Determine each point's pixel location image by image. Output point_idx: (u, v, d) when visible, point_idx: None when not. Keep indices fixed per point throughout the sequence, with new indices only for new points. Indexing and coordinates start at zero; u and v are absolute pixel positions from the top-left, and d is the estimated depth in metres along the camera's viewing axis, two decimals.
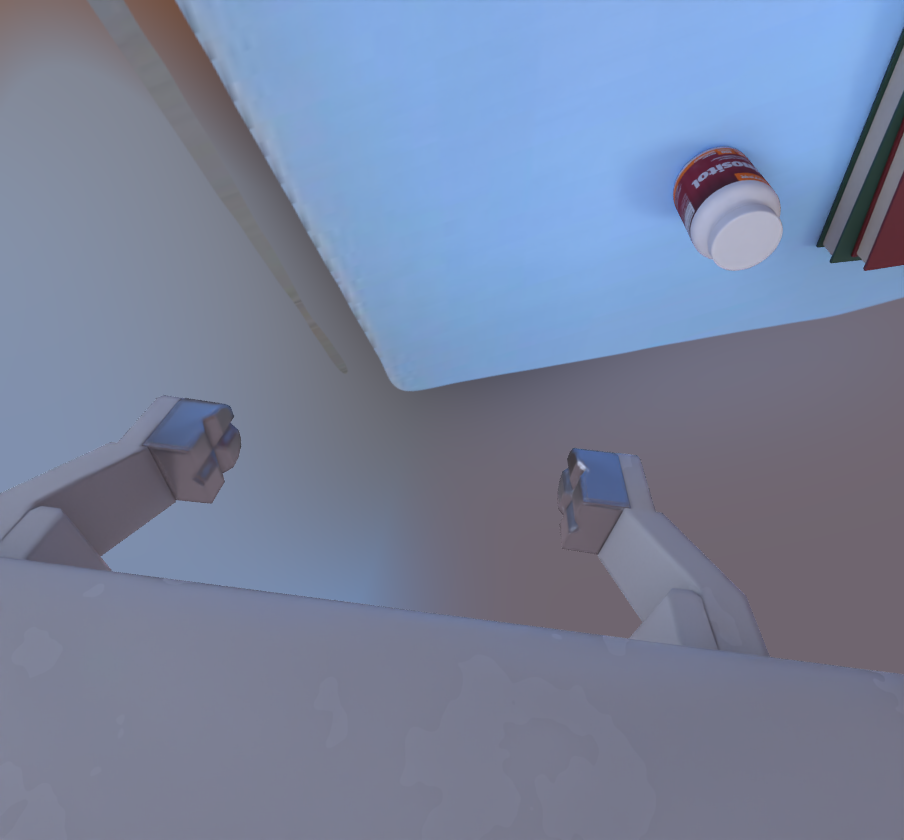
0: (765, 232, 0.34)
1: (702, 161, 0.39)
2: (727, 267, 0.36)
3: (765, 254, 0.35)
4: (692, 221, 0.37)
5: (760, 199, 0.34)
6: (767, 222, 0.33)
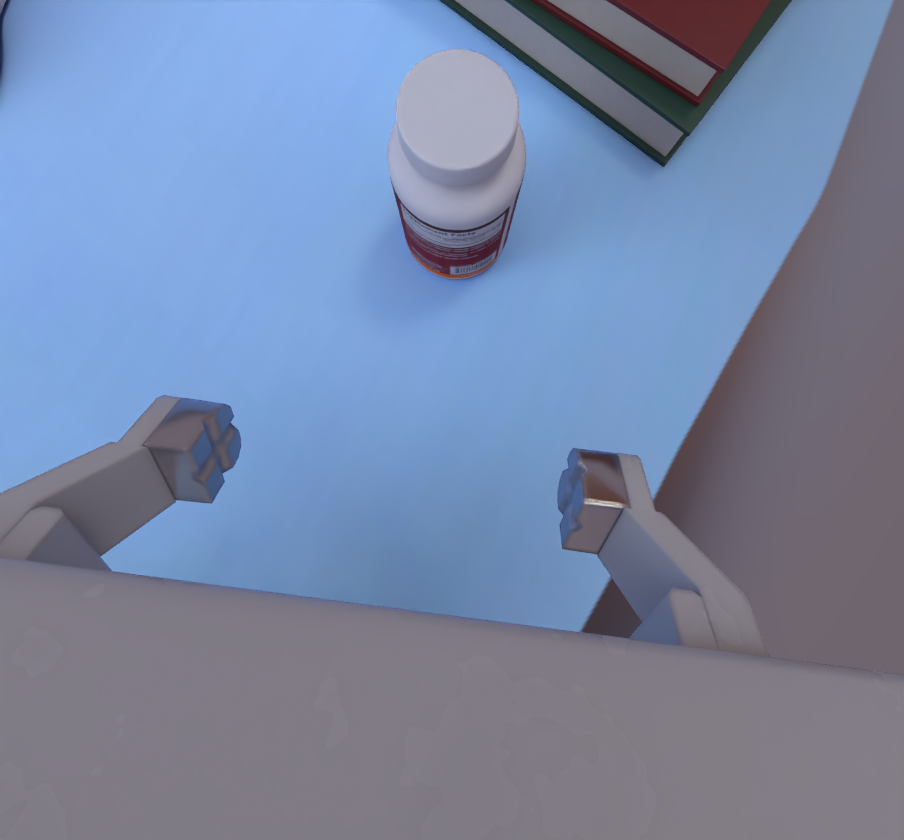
0: (461, 75, 0.17)
1: None
2: (484, 156, 0.17)
3: (507, 94, 0.17)
4: (408, 208, 0.21)
5: None
6: (444, 65, 0.17)
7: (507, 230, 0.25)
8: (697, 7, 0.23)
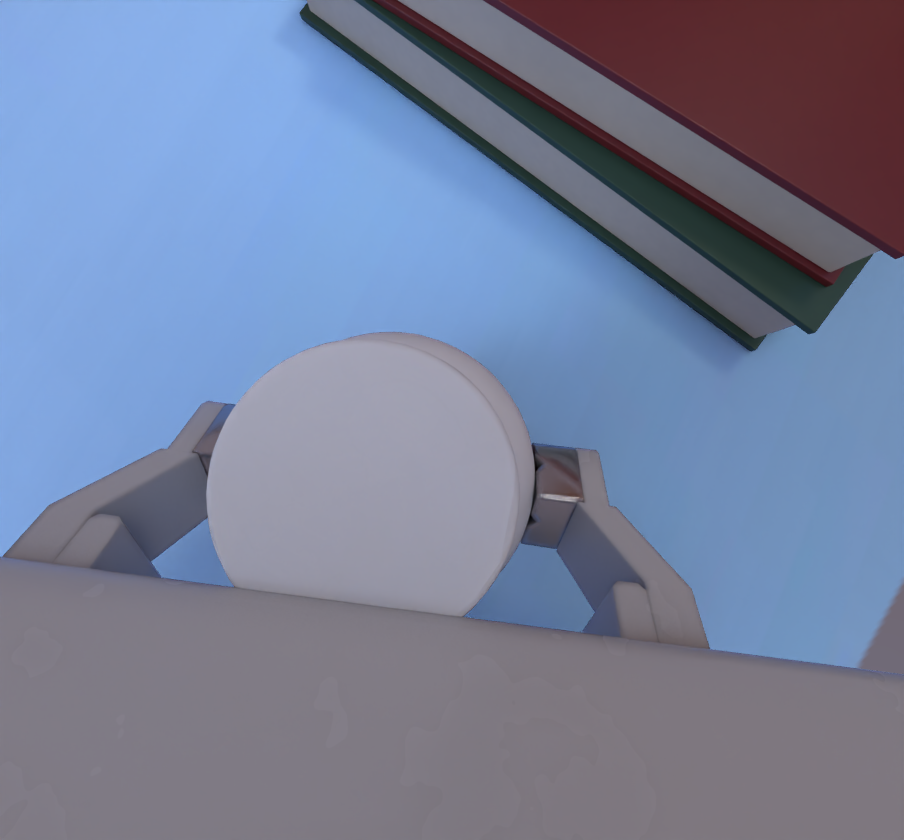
0: (371, 407, 0.07)
1: None
2: None
3: (488, 457, 0.07)
4: None
5: None
6: (330, 382, 0.07)
7: None
8: (850, 138, 0.12)
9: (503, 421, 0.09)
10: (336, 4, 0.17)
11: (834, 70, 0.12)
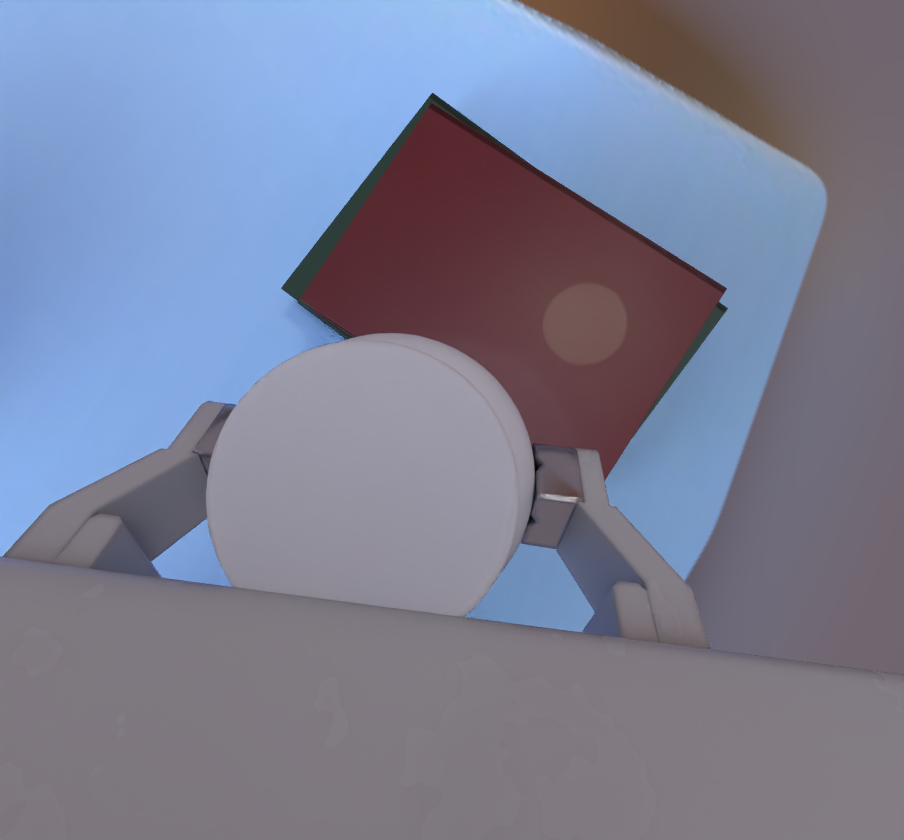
0: (371, 409, 0.07)
1: None
2: None
3: (488, 458, 0.07)
4: None
5: None
6: (330, 383, 0.07)
7: None
8: (571, 432, 0.25)
9: (503, 422, 0.09)
10: None
11: (563, 398, 0.25)
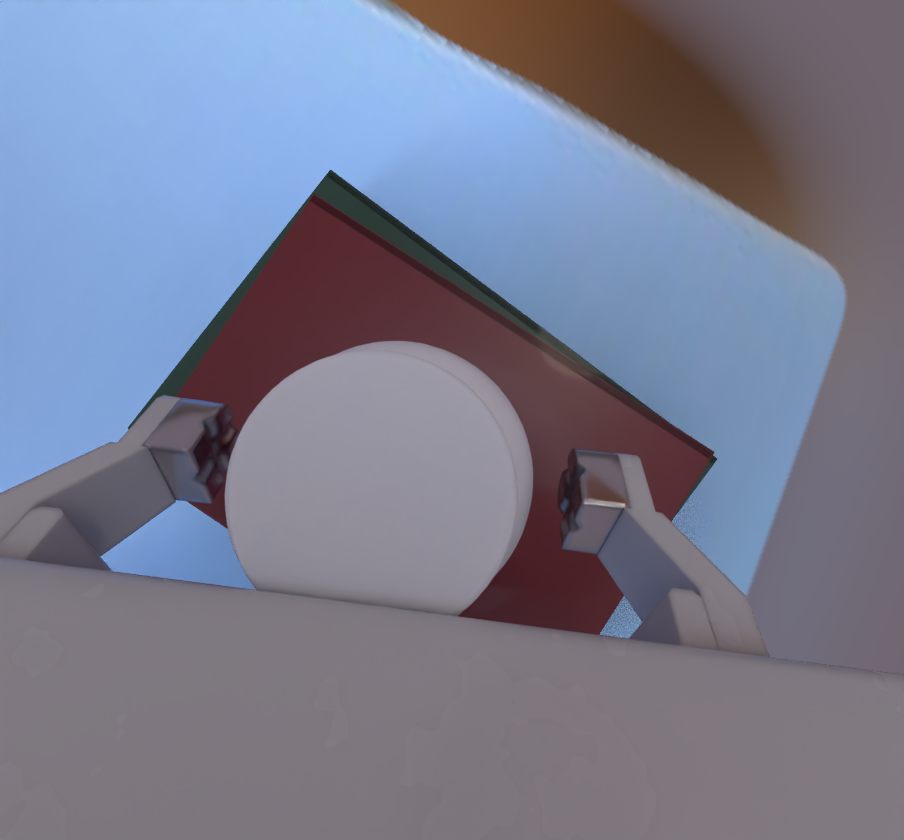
0: (379, 414, 0.07)
1: None
2: None
3: (488, 460, 0.07)
4: None
5: None
6: (340, 390, 0.07)
7: None
8: None
9: (502, 426, 0.09)
10: None
11: (489, 604, 0.18)
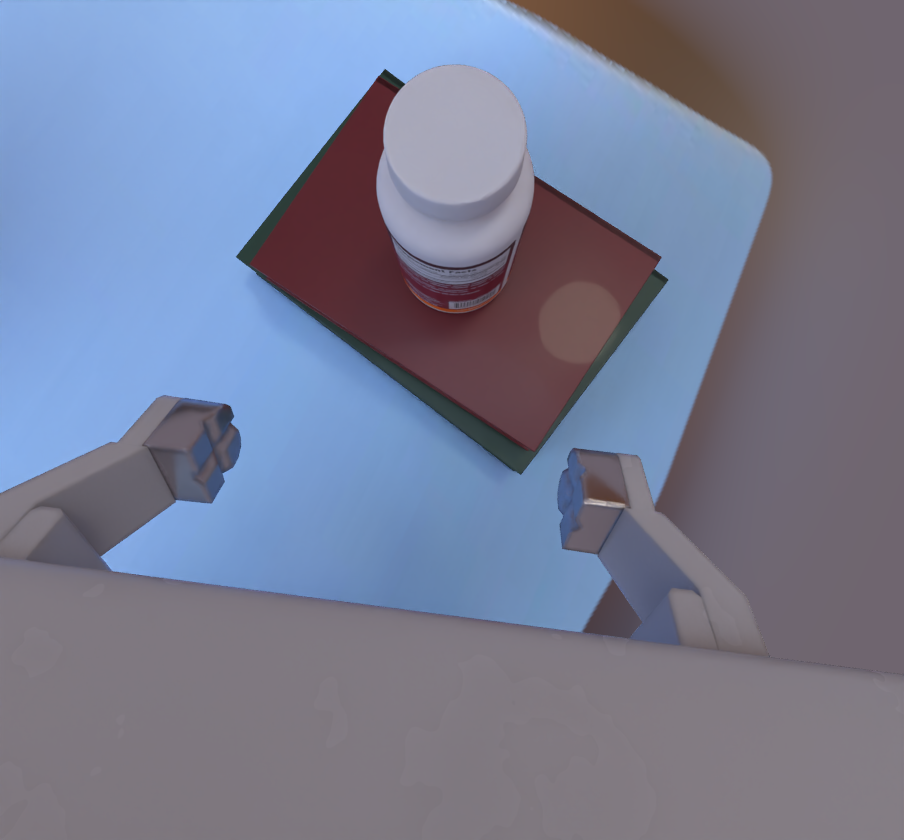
0: (459, 94, 0.15)
1: None
2: (486, 189, 0.15)
3: (512, 116, 0.15)
4: (400, 243, 0.18)
5: None
6: (440, 83, 0.15)
7: (512, 262, 0.22)
8: (510, 394, 0.26)
9: None
10: None
11: (503, 361, 0.26)
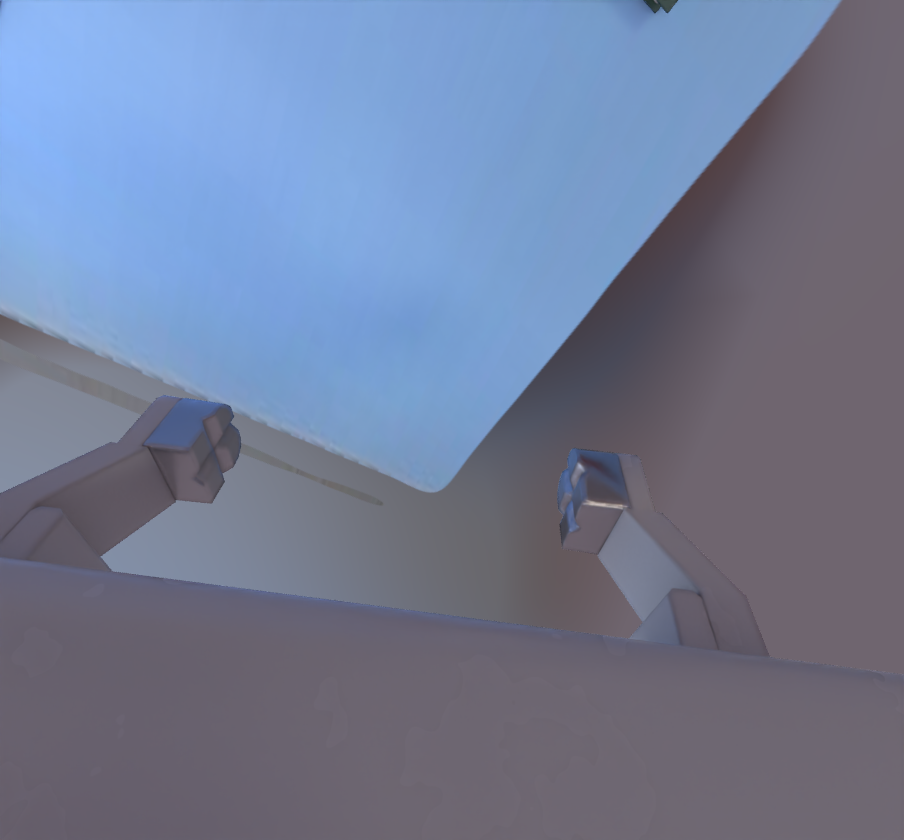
0: None
1: None
2: None
3: None
4: None
5: None
6: None
7: None
8: None
9: None
10: None
11: None
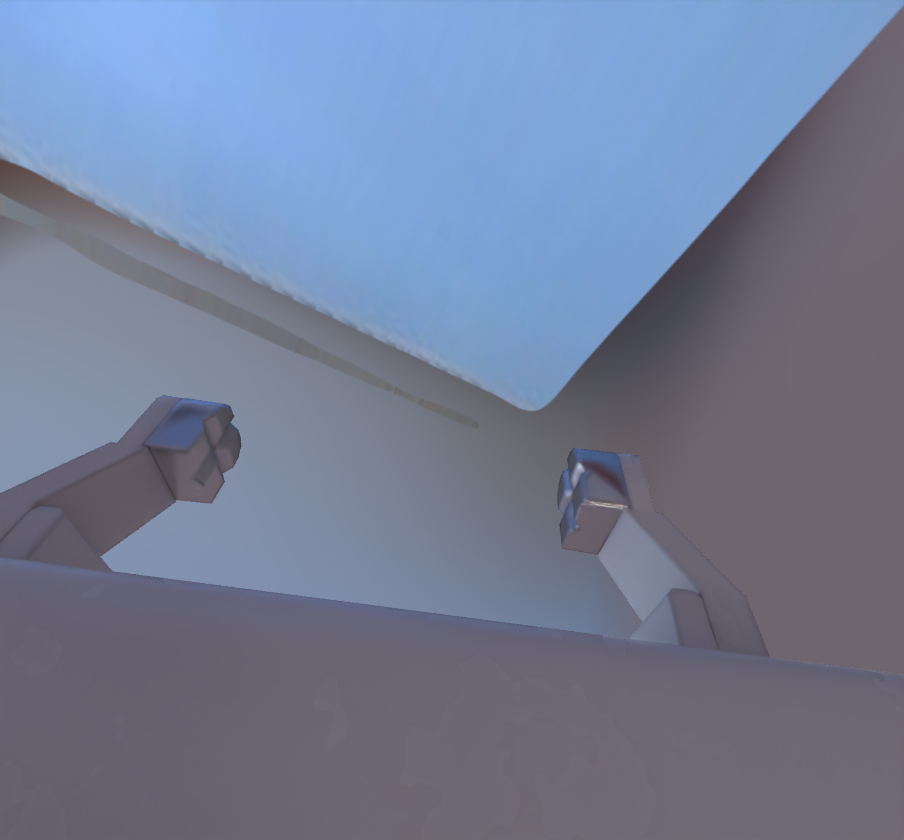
0: None
1: None
2: None
3: None
4: None
5: None
6: None
7: None
8: None
9: None
10: None
11: None
